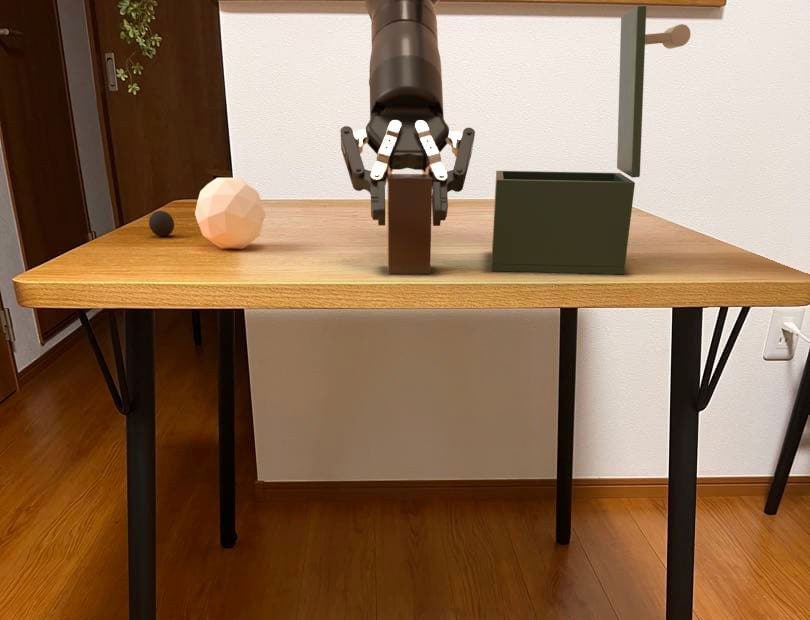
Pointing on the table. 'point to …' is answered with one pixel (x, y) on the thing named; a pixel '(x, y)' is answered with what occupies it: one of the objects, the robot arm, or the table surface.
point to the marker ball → (161, 223)
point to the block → (409, 223)
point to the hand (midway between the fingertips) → (409, 219)
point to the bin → (561, 222)
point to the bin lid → (637, 82)
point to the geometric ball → (230, 213)
